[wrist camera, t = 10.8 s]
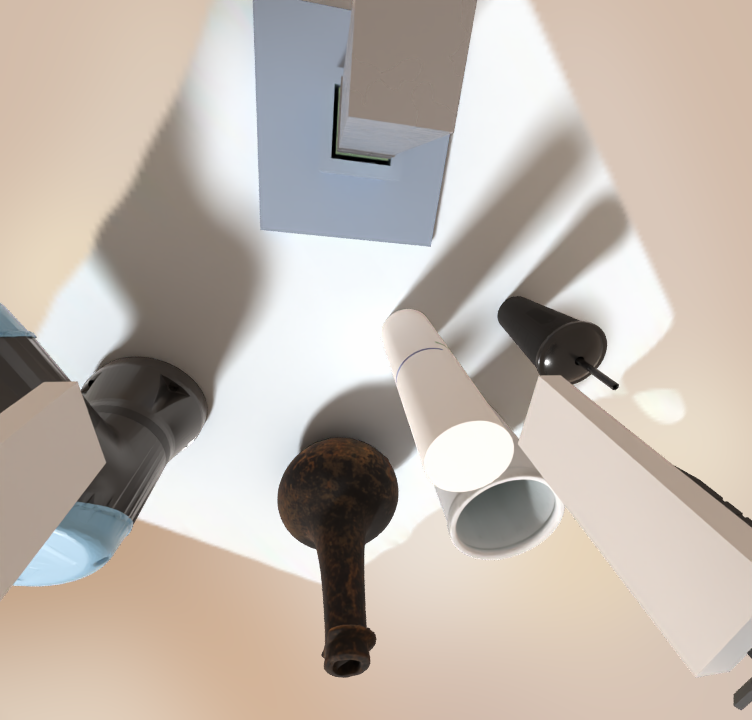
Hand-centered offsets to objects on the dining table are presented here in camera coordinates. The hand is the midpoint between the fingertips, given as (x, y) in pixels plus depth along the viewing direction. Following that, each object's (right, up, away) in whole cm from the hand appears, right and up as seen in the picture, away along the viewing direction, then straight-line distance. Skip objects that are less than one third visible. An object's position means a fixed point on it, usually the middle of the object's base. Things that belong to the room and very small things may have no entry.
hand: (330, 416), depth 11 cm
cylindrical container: (+6, +6, +39) cm, 40 cm away
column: (0, +22, +21) cm, 30 cm away
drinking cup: (+21, +8, +39) cm, 45 cm away
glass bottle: (-5, -15, +48) cm, 51 cm away
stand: (-1, +25, +27) cm, 37 cm away
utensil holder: (+16, -10, +48) cm, 52 cm away
